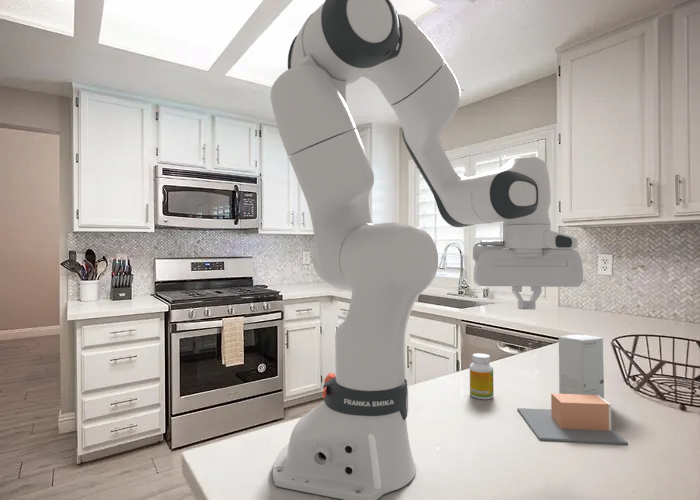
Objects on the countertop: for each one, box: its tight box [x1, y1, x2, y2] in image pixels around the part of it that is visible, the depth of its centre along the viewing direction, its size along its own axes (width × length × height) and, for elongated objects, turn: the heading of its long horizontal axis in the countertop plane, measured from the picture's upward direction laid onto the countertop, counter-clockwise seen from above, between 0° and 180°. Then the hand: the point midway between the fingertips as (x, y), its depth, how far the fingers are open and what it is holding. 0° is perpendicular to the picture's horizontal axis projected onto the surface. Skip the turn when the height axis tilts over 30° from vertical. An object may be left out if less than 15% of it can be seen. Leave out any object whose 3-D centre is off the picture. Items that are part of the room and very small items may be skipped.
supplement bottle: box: [469, 352, 494, 400], centre depth 97 cm, size 5×5×10 cm
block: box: [550, 392, 612, 431], centre depth 80 cm, size 5×5×9 cm
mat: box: [516, 407, 629, 445], centre depth 80 cm, size 15×14×1 cm
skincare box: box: [558, 333, 605, 400], centre depth 93 cm, size 8×6×15 cm
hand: (526, 309), depth 81 cm, fingers closed
